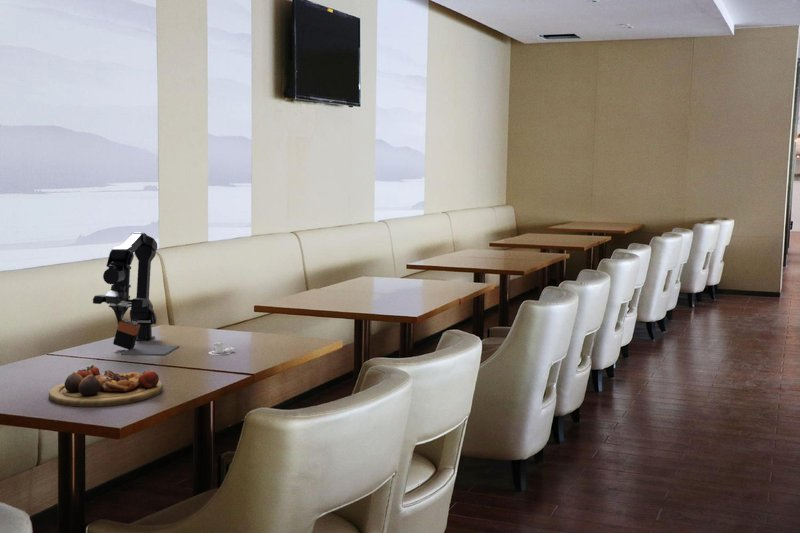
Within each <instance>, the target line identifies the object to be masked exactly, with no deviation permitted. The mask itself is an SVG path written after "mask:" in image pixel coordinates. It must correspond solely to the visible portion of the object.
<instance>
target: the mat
mask: <svg viewBox="0 0 800 533" xmlns="http://www.w3.org/2000/svg"><path fill="white" fill-rule="evenodd" d="M178 348H180V345H172V344H171V345H164V344H163V345H162V344H161V345H159V344H137V345H136V344H135V346H134V348H132V349H130V350H129V349H126V350H125V351H123V352H121V353H120V354H121V355H122V356H161V357H162V356H164V357H165V356H166V355H168V354H170V353H171V352H173V351H175V350H177V349H178Z"/></svg>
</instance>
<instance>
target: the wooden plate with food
mask: <svg viewBox="0 0 800 533" xmlns="http://www.w3.org/2000/svg"><path fill="white" fill-rule="evenodd" d="M159 379H160V378H159V375H158V374H157V372H156V371H155V370H149V369H148V370H147V371H143V372H142V373H139V372H136V371H133V372H127V373H118V372H113V371H112V370H110V369H109V370H105V371H104V372H103V373H101V372H100V369H99V368H98V367H97V366H95V365H93V364H92V365H91V366H86V369H85V368H84V369H78V370H77V372H72V373H71V374H69V375H68V376H67V377H66V379H65V381H64V382H62V383H60V384H57V385H56V386H53V388H51V389H50V390H49V392H48V398H49V399H50V401H51V402H54V403H56V404H58V405H63V406H67V407H68V406H69V407H80V408H82V407H83V408H97V407H98V408H99V407H101V408H102V407H111V406H113V407H114V406H119V405H120V406H121V405H127V404H133V403H137V402H142V401H146V400H148V399H151V398H154V397H156V396H157V395H159V394H160V393H161V392H162V391H163V388H164V387H163V386H164V385H163V383H162V382H161V381H160V380H159Z"/></svg>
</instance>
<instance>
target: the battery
mask: <svg viewBox="0 0 800 533" xmlns="http://www.w3.org/2000/svg"><path fill="white" fill-rule="evenodd" d="M139 328H140V325H139V324H138V323H137V322H135V321H132V322H131V320H130V321H129V319H128V318H123V319H122V321H120V322H119V324H118V323H117V328H116V332H115V335H114V339H113V342H112V343H113V345H114V346H117V347H120V348H123V349H126V350H130V349H132V348H134V346H136V341H137V340H136V339H137V335H138V332H139Z"/></svg>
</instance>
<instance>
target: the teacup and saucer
mask: <svg viewBox="0 0 800 533" xmlns="http://www.w3.org/2000/svg"><path fill="white" fill-rule="evenodd" d="M213 346H214V347H215V349H214V347H213ZM224 347H225V342H222V341H219V342H218V341H217V342H214V343H213V344H212V345H211V348H212V350H211V351H209V352H208V354H209V355H213V356H225V355H230V354H231V353H232V352H234V350H235V348H234V347H226V348H224ZM212 352H213V353H212ZM218 353H220V354H218Z"/></svg>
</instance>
